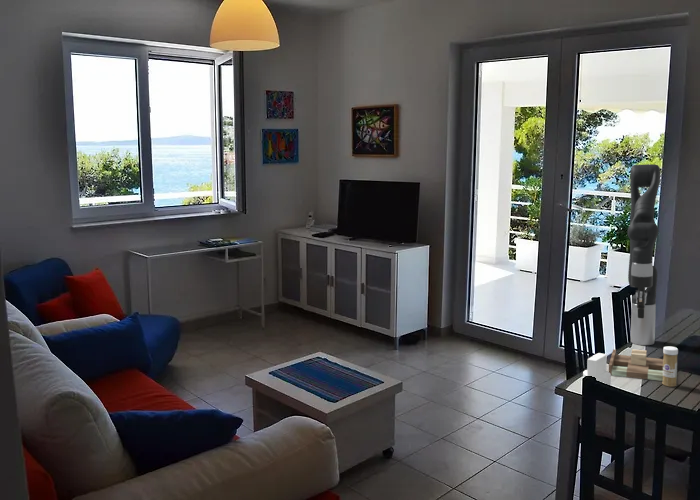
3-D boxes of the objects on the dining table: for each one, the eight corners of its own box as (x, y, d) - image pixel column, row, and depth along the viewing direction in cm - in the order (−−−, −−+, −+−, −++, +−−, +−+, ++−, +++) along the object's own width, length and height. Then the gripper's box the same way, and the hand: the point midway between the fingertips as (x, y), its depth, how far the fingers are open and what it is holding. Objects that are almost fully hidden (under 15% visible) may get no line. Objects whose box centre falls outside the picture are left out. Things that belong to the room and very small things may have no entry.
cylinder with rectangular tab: (589, 383, 223) (590, 351, 221) (615, 389, 216) (615, 356, 214) (578, 390, 216) (578, 357, 215) (603, 396, 210) (604, 362, 208)
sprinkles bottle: (660, 385, 217) (661, 348, 215) (664, 381, 221) (665, 345, 219) (675, 388, 214) (676, 350, 212) (678, 384, 218) (679, 347, 216)
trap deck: (613, 359, 246) (613, 349, 246) (666, 364, 237) (667, 354, 237) (608, 374, 230) (608, 364, 229) (666, 381, 221) (666, 370, 220)
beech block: (632, 359, 239) (632, 349, 239) (646, 360, 237) (646, 350, 236) (631, 364, 234) (631, 353, 233) (645, 365, 232) (646, 355, 231)
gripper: (652, 277, 231) (651, 323, 234) (653, 271, 243) (652, 314, 246) (630, 277, 235) (629, 321, 237) (632, 270, 246) (631, 312, 249)
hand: (640, 317), depth 241 cm, fingers closed
